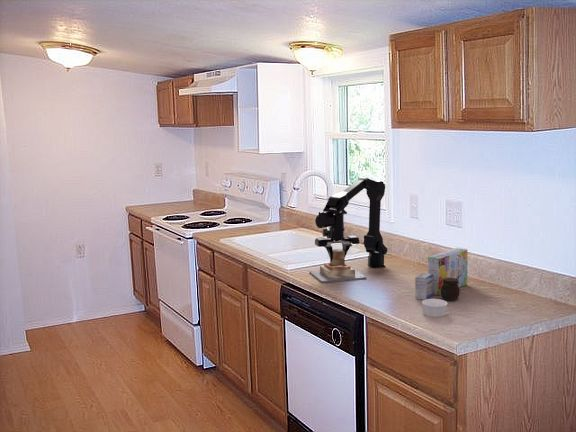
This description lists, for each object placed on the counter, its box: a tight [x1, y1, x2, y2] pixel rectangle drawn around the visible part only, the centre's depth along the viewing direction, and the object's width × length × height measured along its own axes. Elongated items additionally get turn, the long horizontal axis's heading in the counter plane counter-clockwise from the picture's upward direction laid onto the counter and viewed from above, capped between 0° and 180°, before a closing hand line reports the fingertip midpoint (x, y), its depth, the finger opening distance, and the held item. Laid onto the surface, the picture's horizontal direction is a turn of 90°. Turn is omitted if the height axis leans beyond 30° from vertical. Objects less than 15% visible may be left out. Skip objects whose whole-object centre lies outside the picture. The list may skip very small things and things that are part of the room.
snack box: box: [427, 247, 468, 296], centre depth 260 cm, size 21×6×15 cm, turn 134°
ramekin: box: [421, 298, 448, 318], centre depth 230 cm, size 9×9×4 cm
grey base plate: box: [308, 269, 367, 284], centre depth 284 cm, size 20×18×1 cm
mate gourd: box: [440, 274, 462, 302], centre depth 246 cm, size 7×8×10 cm
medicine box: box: [414, 272, 434, 301], centre depth 250 cm, size 8×4×9 cm, turn 148°
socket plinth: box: [319, 262, 356, 279], centre depth 284 cm, size 12×12×4 cm
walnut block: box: [329, 248, 346, 266], centre depth 283 cm, size 5×5×6 cm
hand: (337, 260), depth 283 cm, fingers closed on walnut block, 5 cm apart
